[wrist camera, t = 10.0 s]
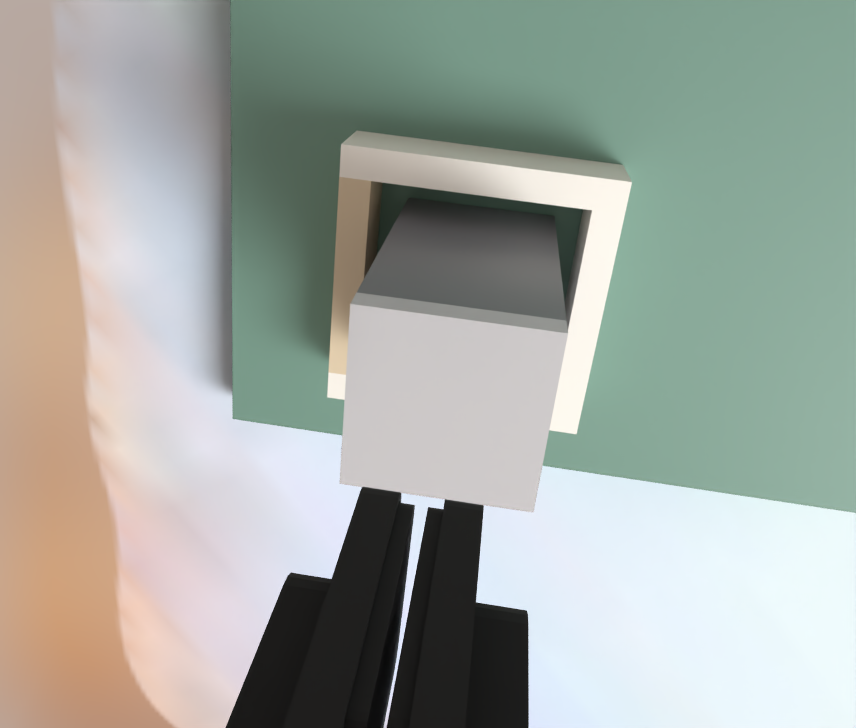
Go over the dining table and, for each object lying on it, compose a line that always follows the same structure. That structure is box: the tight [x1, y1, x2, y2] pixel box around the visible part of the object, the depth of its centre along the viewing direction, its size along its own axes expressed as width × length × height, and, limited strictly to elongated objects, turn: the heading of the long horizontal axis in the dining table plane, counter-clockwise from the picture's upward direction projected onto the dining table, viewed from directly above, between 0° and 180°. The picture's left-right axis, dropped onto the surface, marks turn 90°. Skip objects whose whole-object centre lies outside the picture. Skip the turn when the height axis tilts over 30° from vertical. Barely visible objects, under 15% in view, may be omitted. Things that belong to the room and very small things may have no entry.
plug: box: [340, 198, 568, 512], centre depth 19 cm, size 4×4×8 cm
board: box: [230, 0, 856, 513], centre depth 21 cm, size 16×20×3 cm
